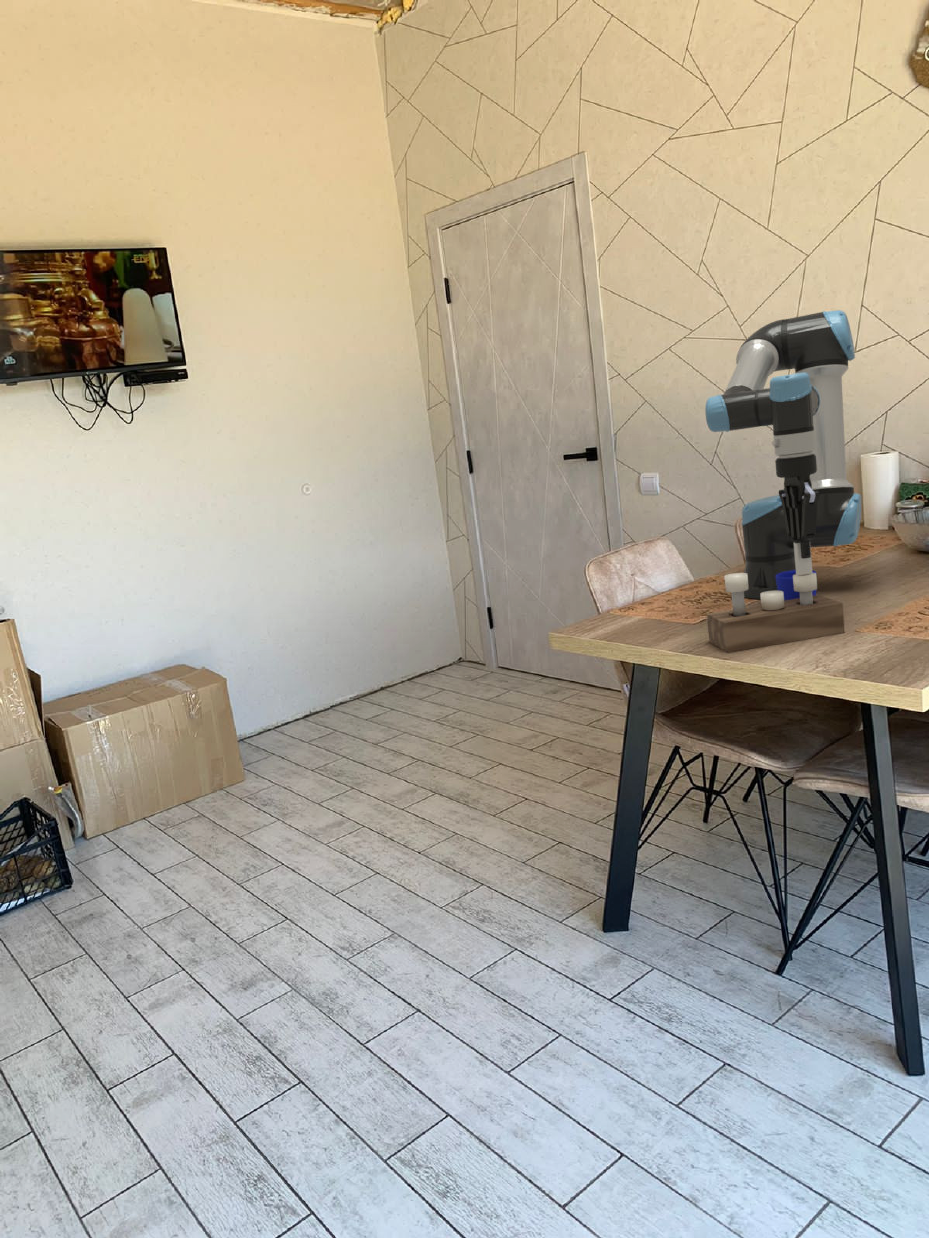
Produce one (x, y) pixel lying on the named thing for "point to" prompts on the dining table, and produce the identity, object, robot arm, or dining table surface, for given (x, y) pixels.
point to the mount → (775, 624)
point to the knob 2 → (772, 600)
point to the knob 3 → (805, 587)
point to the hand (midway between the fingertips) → (804, 573)
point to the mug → (788, 585)
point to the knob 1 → (737, 591)
